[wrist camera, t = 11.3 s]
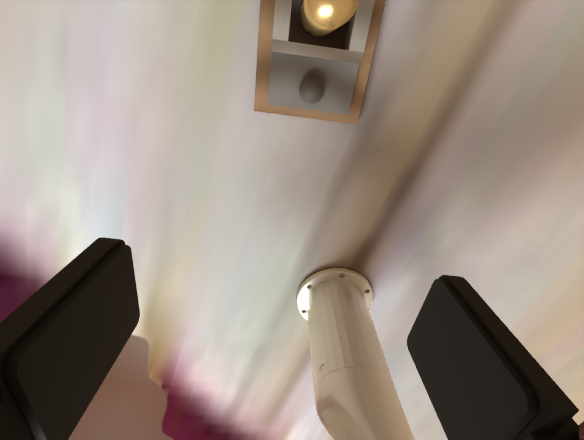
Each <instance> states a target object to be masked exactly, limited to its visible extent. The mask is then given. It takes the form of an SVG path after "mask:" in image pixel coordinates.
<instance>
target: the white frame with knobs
mask: <svg viewBox="0 0 584 440" xmlns="http://www.w3.org/2000/svg"><path fill="white" fill-rule="evenodd" d="M385 1H386V0H360V1H359V4H358V7H357V9H356V11H355V13H354V15H353V16H352V17H351V18H350V19H349V21H348V27H347V32H346V38H345V43H344V49H336V48H329V47H323V46H316V45H310V44H303V43H296V42H290V41H288V36H289V26H290V16H291V7H292V0H261V2H260V19H259V36H258V54H257V71H256V88H255V105H254V111H259V112H267V113H275V114H282V115H290V116H298V117H305V118H313V119H321V120H329V121H336V122H344V123H352V124H357V123H358V119H359V114H360V110H361V106H362V101H363V97H364V93H365V88H366V84H367V79H368V75H369V71H370V66H371V62H372V58H373V53H374V49H375V44H376V40H377V36H378V31H379V27H380V23H381V18H382V14H383V9H384V5H385Z"/></svg>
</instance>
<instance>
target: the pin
mask: <svg viewBox="0 0 584 440" xmlns="http://www.w3.org/2000/svg"><path fill="white" fill-rule="evenodd" d="M359 1H360V0H303V2H302V6H301V12H300V16H301V21H302V24H303V26H304V28H305V29H306V31H307V32H308V33H310V34H311V35H313V36H317V37H321V36H325V35H327V34H329V33H330V32H332V31H334V30H335V29H337V28H338V27H340V26H341V25H343V24H345V23H346V22H347V21H348V20H349V19H350V18H351V17H352V16H353V15H354V13H355V11H356V9H357V7H358V4H359Z"/></svg>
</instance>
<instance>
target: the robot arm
mask: <svg viewBox="0 0 584 440" xmlns="http://www.w3.org/2000/svg"><path fill="white" fill-rule="evenodd" d="M372 301H373V292H372V289H371V286H370V284H369V282H368V281H367V280H366V278H365V277H363V276H362V275H361V274H359V273H357V272H355V271H353V270H350V269H345V268H331V269H325V270H322V271H319V272H317V273H315V274H313V275H311V276H310V277H308V278H307V279H306V280H305V281H304V282H303V283H302V284H301V286H300V288H299V290H298V293H297V307H298V310H299V312H300V314H301V315H302V316H303V317H304V318H305V319H306V320H307V321H308V329H309V340H310V351H311V362H312V373H313V384H314V395H315V404H316V410H317V413H318V416H319V418H320V421H321V423H322V425H323V426H324V428H325V429H326V431H327V432H328V433H329V434H330V436H331V437H332V438H333V439H334V440H415V439H414V437H413V434H412V432H411V429H410V427H409V424H408V422H407V419H406V417H405V414H404V411H403V409H402V406H401V403H400V400H399V398H398V395H397V392H396V389H395V386H394V383H393V380H392V377H391V374H390V372H389V368H388V365H387V363H386V360H385V357H384V354H383V351H382V348H381V345H380V342H379V339H378V336H377V333H376V330H375V327H374V324H373V321H372V319H371V316H370V313H369V309H370V307H371V305H372ZM139 317H140V311H139V303H138V296H137V289H136V282H135V274H134V267H133V260H132V253H131V248H130V246H128V245H125V242H124V241H123V240H120V239H111V238H98V239H97V240H96V241H94V242H93V243H92V244H91V245H90V246H89V247H88V248H86V249H85V250H84V251H83V252H82V253H81V254H79V255H78V256H77V257H76V258H75V259H74V260H73V261H71V262H70V263H69V264H68V265H67V266H66V267H64V268H63V269H62V270H61V271H60V272H59V273H57V274H56V275H55V276H54V277H53V278H52V279H51V280H49V281H48V282H47V283H46V284H45V285H44V286H42V287H41V288H40V289H39V290H38V291H37V292H36V293H34V294H33V295H32V296H31V297H30V298H29V299H27V300H26V301H25V302H24V303H23V304H22V305H20V306H19V307H18V308H17V309H16V310H15V311H14V312H12V313H11V314H10V315H9V316H8V317H7V318H5V319H4V320H3V321H2V322H1V323H0V440H68V438H69V437H70V435H71V434H72V432H73V430H74V429H75V427H76V425H77V424H78V422H79V421H80V419H81V417H82V416H83V414H84V412H85V411H86V409H87V407H88V405H89V404H90V402H91V401H92V399H93V397H94V395H95V394H96V392H97V391H98V389H99V387H100V386H101V384H102V382H103V380H104V379H105V377H106V375H107V374H108V372H109V370H110V369H111V367H112V365H113V364H114V362H115V361H116V359H117V357H118V356H119V354H120V352H121V351H122V349H123V347H124V346H125V344H126V342H127V341H128V339H129V337H130V336H131V334H132V332H133V331H134V329H135V327H136V326H137V324H138V321H139ZM407 346H408V350H409V352H410V354H411V357H412V359H413V361H414V363H415V366H416V368H417V370H418V373H419V375H420V377H421V379H422V382H423V384H424V386H425V388H426V391H427V393H428V395H429V398H430V400H431V402H432V404H433V407H434V409H435V411H436V413H437V416H438V418H439V420H440V423H441V425H442V427H443V429H444V432H445V434H446V436H447V438H448V440H584V421H583V422H582V423H581V424H580V425H577V423H576V422H575V421H574V420H573V419H572V417H573V416H574V415H575V414H576V413H577V412H578V411H579V409H578V408H577V407H576V406H575V405H574V404H573V403H572V401H571V400H570V399H569V398H568V397H567V396H566V395H565V393H564V392H563V391H562V390H561V389H560V388H559V386H558V385H557V384H556V383H555V382H554V381H553V380H552V378H551V377H550V376H549V375H548V374H547V373H546V371H545V370H544V369H543V368H542V367H541V366H540V365H539V363H538V362H537V361H536V360H535V359H534V358H533V357H532V355H531V354H530V353H529V352H528V351H527V350H526V348H525V347H524V346H523V345H522V344H521V343H520V342H519V340H518V339H517V338H516V337H515V336H514V335H513V334H512V332H511V331H510V330H509V329H508V328H507V327H506V325H505V324H504V323H503V322H502V321H501V320H500V319H499V317H498V316H497V315H496V314H495V313H494V312H493V311H492V309H491V308H490V307H489V306H488V305H487V304H486V302H485V301H484V300H483V299H482V298H481V297H480V296H479V294H478V293H477V292H476V291H475V290H474V289H473V288H472V286H471V285H470V284H469V283H468V282H467V281H466V280H465V279H464V278H463V277H458V276H449V275H442V276H441V277H439V279H436V280H435V281H434V282H433V284H432V286H431V288H430V291H429V293H428V295H427V297H426V299H425V301H424V303H423V306H422V308H421V310H420V312H419V314H418V316H417V318H416V321H415V323H414V325H413V327H412V329H411V331H410V333H409V335H408V338H407Z"/></svg>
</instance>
